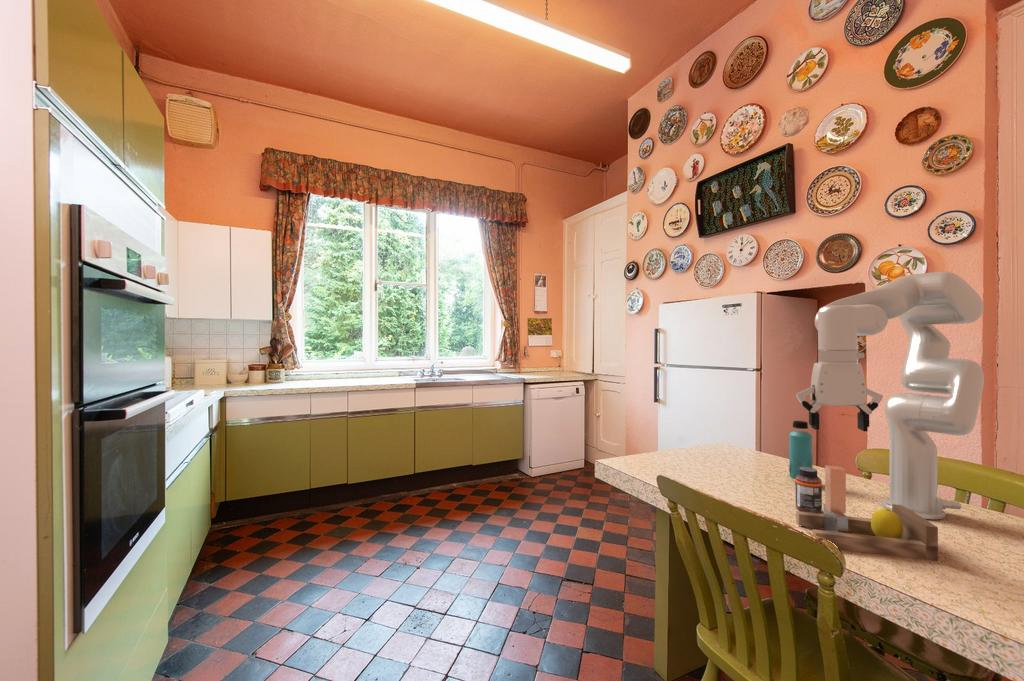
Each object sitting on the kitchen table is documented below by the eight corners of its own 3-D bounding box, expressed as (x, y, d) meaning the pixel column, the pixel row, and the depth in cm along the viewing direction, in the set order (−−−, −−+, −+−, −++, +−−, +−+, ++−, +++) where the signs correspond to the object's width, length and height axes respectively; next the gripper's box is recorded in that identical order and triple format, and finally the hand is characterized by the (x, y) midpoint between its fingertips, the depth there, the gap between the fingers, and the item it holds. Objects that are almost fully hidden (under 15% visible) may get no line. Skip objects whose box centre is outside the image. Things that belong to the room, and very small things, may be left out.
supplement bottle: (801, 504, 122) (801, 464, 122) (825, 511, 117) (826, 469, 117) (791, 509, 119) (791, 467, 119) (815, 516, 114) (816, 473, 114)
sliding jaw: (835, 529, 105) (835, 463, 105) (850, 544, 98) (850, 473, 98) (821, 528, 106) (821, 462, 106) (834, 542, 98) (835, 471, 98)
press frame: (902, 534, 103) (902, 504, 104) (937, 560, 91) (937, 527, 91) (796, 523, 110) (796, 495, 110) (815, 546, 97) (815, 515, 97)
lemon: (909, 549, 96) (909, 512, 96) (884, 548, 96) (884, 512, 96) (888, 537, 102) (888, 503, 102) (864, 537, 102) (864, 503, 102)
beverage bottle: (817, 486, 138) (817, 422, 138) (796, 486, 138) (796, 422, 138) (804, 479, 145) (804, 419, 145) (784, 479, 145) (784, 419, 145)
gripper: (872, 356, 105) (873, 427, 105) (790, 356, 110) (791, 424, 110) (890, 358, 98) (891, 434, 98) (801, 358, 102) (802, 431, 103)
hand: (838, 429), depth 104 cm, fingers open, 9 cm apart
